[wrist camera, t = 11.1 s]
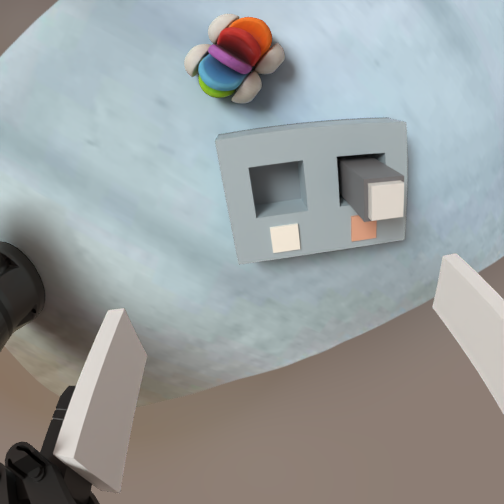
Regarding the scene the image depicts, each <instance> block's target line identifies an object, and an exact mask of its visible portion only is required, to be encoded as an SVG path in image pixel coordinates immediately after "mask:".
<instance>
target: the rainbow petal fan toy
mask: <svg viewBox="0 0 504 504" xmlns="http://www.w3.org/2000/svg"><path fill="white" fill-rule="evenodd" d="M208 35H209V38H210V40H211V42H212V43H213V44H214V45H209V44H201V45H197V46H195V47H193V48H192V49H191V50H190V51H189V53H188V54H187V56H186V57H185V61H184V65H185V69H186V71H187V73H188V74H189V75H190V76H191V77H194V76H195V75H197V74H198V73H199V84H200V86H201V88H202V90H203V91H204V92H205V93H206V94H208V95H209V96H211V97H216V98H221V97H226V96H229V95H232V94H233V93H235V92H236V93H235V94H234V96H233V97H232V101H233V102H235V103H248V102H251V101H252V100H253V98H254V97H255V96H256V95H257V93H258V92H259V91H260V89H261V87H262V83H261V79H260V77H259V75H258V73H260V74H271V73H273V72H274V71H275V70H276V69H277V68H278V67H279V66H280V64H281V63H282V62H283V61H284V59H285V54H284V50H283V48H282V47H281V45H280V44H278V43H276V44H275V45H274V46H272V47H271V48H270V46H271V43H272V34H271V31H270V29H269V27H268V26H267V25H266V23H265V22H264V21H262V20H260V19H257V18H253V17H245V18H241V19H239V17H238V16H237V15H233V14H223V15H220V16H218V17H217V18H216V19H214V21H213V22H212V23H211V24H210V26H209V29H208ZM254 65H255V69H254V70H253V71H252V72H250V71H251V70H252V67H253V66H254Z"/></svg>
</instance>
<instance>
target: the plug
mask: <svg viewBox="0 0 504 504" xmlns="http://www.w3.org/2000/svg"><path fill="white" fill-rule="evenodd" d="M337 168H338V184H339V193H340V195H341V196H342V197H343V198H344V199H345V200H346V201H347V202H348V204H349V205H350V206H351V207H352V208H353V209H354V211H355V212H356V213H357V214H358V215H359V216H360V218H361V219H362V220H363V221H364V222H369V221H376V220H384V219H391V218H399V217H403V208H404V175H402V174H400V173H399V172H397V171H395V170H394V169H392V168H390V167H389V166H387V165H385V164H384V163H382V162H380V161H378V160H377V159H375V158H373V157H371V156H370V155H368V154H361V155H349V156H338V157H337Z"/></svg>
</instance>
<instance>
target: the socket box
mask: <svg viewBox="0 0 504 504" xmlns="http://www.w3.org/2000/svg"><path fill="white" fill-rule="evenodd" d="M215 144H216V149H217V154H218V160H219V165H220V170H221V176H222V181H223V186H224V192H225V197H226V202H227V207H228V212H229V217H230V223H231V228H232V233H233V238H234V243H235V248H236V253H237V258H238V263H239V265H240V264H247V263H254V262H261V261H268V260H275V259H282V258H288V257H295V256H302V255H309V254H315V253H322V252H329V251H335V250H342V249H348V248H355V247H361V246H368V245H374V244H381V243H387V242H394V241H400V240H405V226H406V207H407V128H406V122H403V121H399V120H395V119H391V118H360V119H342V120H328V121H316V122H306V123H296V124H287V125H279V126H271V127H263V128H256V129H250V130H243V131H237V132H231V133H225V134H219V135H218V137H217V138H216V140H215ZM361 154H368V155H370V156H371V157H373V158H375V159H377V160H378V161H380V162H382V163H384V164H385V165H387V166H389V167H390V168H392V169H394V170H395V171H397V172H399V173H400V174H402V175H404V208H403V217H399V218H391V219H384V220H376V221H369V222H364V221H363V220H362V219H361V218H360V216H359V215H358V214H357V213H356V212H355V211H354V209H353V208H352V207H351V206H350V205H349V204H348V202H347V201H346V200H345V199H344V198H343V197H342V196H341V195H340V193H339V184H338V168H337V157H338V156H349V155H361Z"/></svg>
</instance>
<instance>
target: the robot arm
mask: <svg viewBox="0 0 504 504" xmlns="http://www.w3.org/2000/svg"><path fill="white" fill-rule="evenodd" d="M44 302H45V293H44V288H43V284H42V281H41V279H40V277H39V274H38V273H37V271H36V269H35V268H34V266H33V265H32V263H31V262H30V261H29V259H28V258H27V257H26V256H25V255H24V254H23V253H22V252H21V251H19V250H18V249H17V248H15V247H14V246H12V245H10V244H8V243H5V242H0V352H1V350H2V348H3V347H4V345H5V344H6V342H7V341H8V339H9V338H10V336H11V335H12V333H13V332H15V331H17V330H18V329H20V328H21V327H23V326H24V325H26V324H28V323H29V322H31V321H32V320H34V319H35V318H36V317H37V315H38V314H39V312H40V311H41V310H42V308H43V306H44ZM433 309H434V310H435V312H436V313H437V314H438V316H439V317H440V318H441V320H442V321H443V322H444V324H445V325H446V326H447V328H448V329H449V331H450V332H451V333H452V335H453V336H454V338H455V339H456V340H457V342H458V343H459V345H460V346H461V348H462V349H463V351H464V352H465V353H466V355H467V356H468V358H469V359H470V361H471V362H472V364H473V365H474V367H475V368H476V370H477V372H478V373H479V375H480V376H481V378H482V379H483V381H484V383H485V384H486V386H487V387H488V389H489V390H490V392H491V394H492V395H493V397H494V399H495V400H496V402H497V404H498V405H499V407H500V409H501V411H502V412H503V414H504V300H503V299H502V298H501V296H500V295H499V294H498V293H497V292H496V291H495V290H494V289H493V288H492V287H491V286H490V285H489V284H488V283H487V282H486V281H484V280H483V278H482V277H481V276H480V275H479V274H478V273H477V272H476V271H475V270H474V269H472V268H471V267H470V266H469V265H468V264H467V263H466V262H465V261H464V260H463V259H462V258H461V257H460V256H459V255H457V254H456V253H455V254H450V255H445V256H443V258H442V263H441V269H440V274H439V279H438V284H437V289H436V294H435V298H434V303H433ZM146 360H147V354H146V352H145V350H144V348H143V346H142V344H141V342H140V340H139V338H138V336H137V334H136V332H135V330H134V328H133V326H132V323H131V321H130V319H129V317H128V315H127V313H126V310H125V308H122V309H113V310H108V312H107V314H106V316H105V318H104V320H103V323H102V325H101V327H100V329H99V332H98V334H97V336H96V338H95V341H94V343H93V345H92V348H91V350H90V352H89V355H88V357H87V360H86V362H85V365H84V367H83V370H82V372H81V375H80V377H79V380H78V382H77V385H76V386H68V387H67V389H66V390H65V391H64V392H63V394H62V395H61V396H60V399H59V401H58V404H57V406H56V410H55V412H54V414H53V420H51V423H50V426H49V428H48V431H47V434H46V437H45V440H44V443H43V446H42V449H41V452H38V451H37V450H36V449H35V448H33V446H31V445H30V444H28V443H27V442H19V443H16V444H14V445H13V446H12V447H11V448H10V449H9V451H8V452H7V454H6V458H5V466H4V465H3V464H2V463H0V504H99V502H98V500H97V499H96V497H95V495H94V494H93V493H92V492H91V486H92V485H94V486H95V487H96V488H98V489H99V490H101V491H107V492H114V493H120V491H121V484H122V478H123V471H124V466H125V460H126V454H127V448H128V443H129V438H130V433H131V428H132V423H133V418H134V413H135V408H136V404H137V399H138V395H139V390H140V386H141V381H142V377H143V373H144V369H145V364H146Z"/></svg>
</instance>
